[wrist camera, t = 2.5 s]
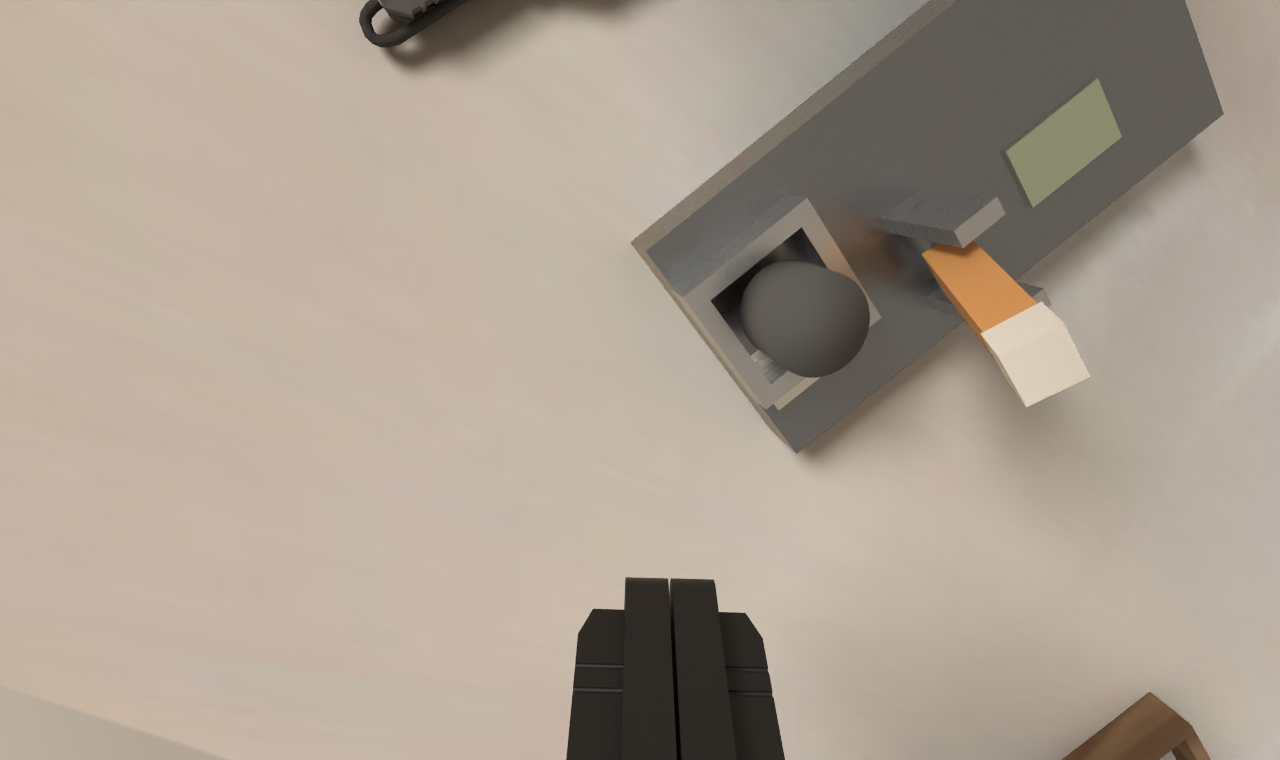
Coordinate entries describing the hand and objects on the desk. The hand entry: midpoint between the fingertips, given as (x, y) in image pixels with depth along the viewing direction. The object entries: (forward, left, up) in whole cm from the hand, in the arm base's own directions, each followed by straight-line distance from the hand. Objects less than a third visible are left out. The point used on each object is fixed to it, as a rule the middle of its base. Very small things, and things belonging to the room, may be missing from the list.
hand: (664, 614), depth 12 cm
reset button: (+5, +8, -17) cm, 19 cm away
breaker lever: (+7, +15, -17) cm, 24 cm away
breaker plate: (+5, +18, -22) cm, 28 cm away
